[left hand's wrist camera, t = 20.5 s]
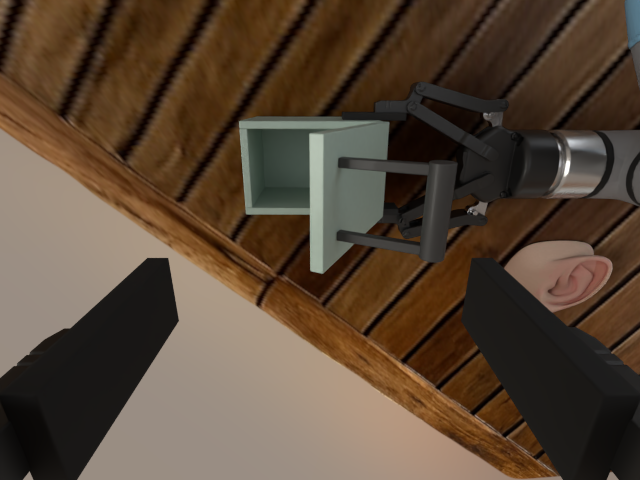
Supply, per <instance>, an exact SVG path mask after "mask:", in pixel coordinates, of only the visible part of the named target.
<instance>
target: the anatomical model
mask: <svg viewBox="0 0 640 480" xmlns="http://www.w3.org/2000/svg"><path fill="white" fill-rule="evenodd" d="M504 269H505V270H506V271H507V272H508V273H509V274H510V275H512V276H513V277H514V278H515V279H516V280H517V281H518V282H519V283H520V284H521V285H522V286H524V287H525V288H526V289H527V290H528V291H529V292H530V293H531V294H532V295H533V296H535V297H536V298H537V299H538V300H539V301H540V302H541V303H542V304H543V305H544V306H545V307H547V308H548V309H549V310H550V311H551V312H552V313H553V312H556V311H559V310H562V309H565V308H568V307H571V306H574V305H577V304H579V303H581V302H583V301H585V300H587V299H589V298H590V297H592V296H593V295H594V294H595V293H597V292H598V291H599V290H600V289H601V288H602V287H603V286H604V285H605V283H606V282H607V280H608V279H609V277H610V275H611V272H612V262H611V261H610V260H609V259H608V258H606V257H603V256H598V255H594V252H593V249H592V247H591V246H590V245H589V244H587V243H584V242H578V241H546V242H538V243H534V244H531V245H528V246H526V247H524V248H523V249H521V250H520V251H519V252H517V253H516V254H515V255H514V256H513V257H512V258H511V260H510V261H509V262H508V263H507V265H506V266H505V268H504Z"/></svg>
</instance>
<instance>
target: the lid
mask: <svg viewBox="0 0 640 480" xmlns="http://www.w3.org/2000/svg"><path fill="white" fill-rule="evenodd" d="M388 135H389V122H374V123H368V124H362V125H356V126H350V127H344V128H338V129H332V130H326V131H320V132H314V133H310V134H309V149H310V270H311V271H313V272H317V273H322V274H323V273H324V272H325V271H326V270H327V269H328V268H329V267H330V266H332V265H333V264H334V263H335V262H336V261H337V260H338V259H339V258H340V257H341V256H342V255H343V254H344V253H345V252H346V251H347V250H348V249H349V248H350V247H351V246H353V245H354V244H360V245H365V246H371V247H377V248H382V249H388V250H394V251H399V252H405V253H411V254H417V255H419V258H420V259H422V260H424V261H427V262H441V261H443V260H444V256H445V249H446V242H447V235H448V228H449V221H450V214H451V207H452V200H453V193H454V186H455V179H456V172H457V164H458V163H457V162H454V161H448V160H432V161H430V162H429V163H425V162H411V161H397V160H387V149H388ZM386 172H392V173H404V174H416V175H427V176H428V177H427V186H426V195H425V203H424V212H423V221H422V230H421V239H420V242H415V241H408V240H402V239H396V238H390V237H383V236H377V235H371V234H365V233H366V232H367V231H368V230H369V229H370V228H371V227H373V226H374V225H375V224H376V223H377V222H378V221H379V220H380V219H381V218H382V217H383V206H384V192H385V178H386Z"/></svg>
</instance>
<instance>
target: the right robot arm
mask: <svg viewBox="0 0 640 480" xmlns="http://www.w3.org/2000/svg"><path fill="white" fill-rule="evenodd" d="M625 14H626V23H627V33H628V48H629V49H631V53H632V58H633V62H634V66H635V71H636V75H637V80H638V84H639V89H640V0H625ZM422 98H426V99H430V100H433V101H437V102H440V103H443V104H447V105H450V106H453V107H457V108H460V109H464V110H467V111H471V112H479V113H480V118H481V119H482V120H486V121H487V122H488V123H489V126H488V127H486V128H485V129H483V130H482V131H480V132H479V133H477V134H476V135H474V136H472V135H471V134H469V133H467V132H465V131H463V130H462V129H460V128H458V127H457V126H455V125H453V124H452V123H450V122H449V121H447V120H445V119H444V118H442V117H441V116H439V115H437V114H436V113H434V112H432V111H431V110H429V109H428V108H426V107H424V106H423V105H421V104H420V102H421V100H422ZM508 106H509V103H508V101H507V100H505V99H492V100H482V99H479V98H476V97H472V96H469V95H466V94H462V93H459V92H456V91H452V90H449V89H446V88H442V87H439V86H436V85H432V84H429V83H426V82H417V83H414V84H412V85H411V87H410V92H409V94H408V96H407V98H406V99H405V100H402V101H377V102H375V103H374V112H342V119H343V120H388V121H406V115H407V113H408V114H409V115H411V116H412V117H414V118H416V119H417V120H419V121H421V122H422V123H424V124H426V125H427V126H429V127H430V128H432V129H434V130H435V131H437V132H439V133H440V134H442V135H444V136H445V137H447V138H449V139H450V140H451V141H453V142H454V143H456V144H458V145H459V146H460V148H459V150H458V149H457V154H456V159H457V163H458V164H457V172H456V179H455V186H454V193H453V200H455V199H460V198H463V197H465V196H467V195H469V194H471V195H472V196H473V197H474V198H476V199H477V200H476V202H475V203H474V204H471V205H467V206H466V207H465V209H457V210H452V211H451V214H450V221H449V228H448V229H451V228H455V227H459V226H463V225H478V226H483V225H485V224H486V223H487V221H488V219H487V217H486V216H484V215H485V211H486V208H487V204H488V202H491V201H493V200H495V199H499V198H518V199H533V198H538V197H540V198H544V199H557V198H604V199H617V200H622V201H625V202H628V203H631V204H634V205H637V206H640V130H612V131H596V130H550V131H546V130H508V129H506V128H505V127H503V126H502V118H503V111H505V110H507V108H508ZM453 200H452V201H453ZM424 203H425V195H424V196H422V197H420V198H418V199H416V200H414V201H412V202H410V203H408V204H406V205H404V206H402V207H400V208H397V206H396V205H395V203H384V206H383V217H382V218H381V219H380V220H379V221H378V222H377V223H396V224H397V225H398V229H399V231H400V233H401V234H402V236H403V237H404V238H405V239H409V238H413V237H417V236H421V230H422V221H423V218H420V219H416V218H418V217H420V216H422V215H423V212H424ZM414 219H416V220H414Z"/></svg>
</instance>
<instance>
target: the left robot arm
mask: <svg viewBox="0 0 640 480" xmlns="http://www.w3.org/2000/svg"><path fill="white" fill-rule="evenodd" d="M178 321H179V319H178V313H177V308H176V302H175V296H174V290H173V284H172V278H171V272H170V266H169V260H168V258H147V259H146V260H145V261H144V262H143V263H142V264H141V265H139V266H138V267H137V268H136V269H135V270H134V271H133V272H132V273H131V274H130V275H128V276H127V277H126V278H125V279H124V280H123V281H122V282H121V283H120V284H119V285H118V286H116V287H115V288H114V289H113V290H112V291H111V292H110V293H109V294H108V295H107V296H106V297H104V298H103V299H102V300H101V301H100V302H99V303H98V304H97V305H96V306H95V307H93V308H92V309H91V310H90V311H89V312H88V313H87V314H86V315H85V316H84V317H82V318H81V319H80V320H79V321H78V322H77V323H76V324H75V325H74V326H73V327H72V328H70V329H63V330H61V331H59V332H57V333H56V334H54V335H52V336H50V337H48V338H47V339H45V340H44V341H42V342H41V343H40V344H39V345H38V346H37V347H36V348H34V349H33V350H32V351H31V352H30V354H29V355H26V356H25V357H24V358H23V359H22V360H21V361H19V362H18V363H17V366H14V367H13V368H11V369H10V370H9V371H8V372H7V373H6V374H4V375H3V376H2V377H1V378H0V480H23V479H24V477H25V476H26V475H27V474H28V472H29V471H30V473H31V475H32V477H33V480H77V479H78V477H79V476H80V474H81V473H82V471H83V469H84V468H85V466H86V465H87V463H88V462H89V460H90V459H91V457H92V456H93V454H94V452H95V451H96V449H97V448H98V446H99V445H100V443H101V441H102V440H103V438H104V437H105V435H106V434H107V432H108V431H109V429H110V427H111V426H112V424H113V423H114V421H115V419H116V418H117V416H118V415H119V413H120V412H121V410H122V409H123V407H124V406H125V404H126V402H127V401H128V399H129V398H130V396H131V395H132V393H133V391H134V390H135V388H136V387H137V385H138V384H139V382H140V381H141V379H142V377H143V376H144V374H145V373H146V371H147V370H148V368H149V367H150V365H151V363H152V362H153V360H154V359H155V357H156V356H157V354H158V352H159V351H160V349H161V348H162V346H163V345H164V343H165V341H166V340H167V338H168V337H169V335H170V334H171V332H172V331H173V329H174V328H175V326H176V324H177V323H178ZM461 321H462V323H463V324H464V326H465V328H466V329H467V331H468V332H469V334H470V335H471V337H472V339H473V340H474V342H475V343H476V345H477V346H478V348H479V349H480V351H481V353H482V354H483V356H484V357H485V359H486V360H487V362H488V363H489V365H490V367H491V368H492V370H493V371H494V373H495V374H496V376H497V378H498V379H499V381H500V382H501V384H502V385H503V387H504V388H505V390H506V392H507V393H508V395H509V396H510V398H511V399H512V401H513V402H514V404H515V406H516V407H517V409H518V410H519V412H520V413H521V415H522V417H523V418H524V420H525V421H526V423H527V424H528V426H529V427H530V429H531V431H532V432H533V434H534V435H535V437H536V438H537V440H538V441H539V443H540V445H541V446H542V448H543V449H544V451H545V452H546V454H547V456H548V457H549V459H550V460H551V462H552V463H553V465H554V466H555V468H556V470H557V471H558V473H559V474H560V476H561V477H562V479H563V480H607V477H608V475H609V473H610V470H612V472H613V473H614V474H615V475H616V477H617V478H618V479H619V480H640V376H639V375H638V374H637V373H635V372H634V371H633V370H632V369H631V368H630V367H628V366H627V365H624V364H623V361H621V360H620V359H619V358H618V357H617V356H616V355H615V354H611V351H610V350H609V349H608V348H606V347H605V346H604V345H603V344H602V343H601V342H599V341H598V340H597V339H596V338H594V337H592V336H591V335H589V334H587V333H585V332H583V331H582V330H580V329H578V328H576V327H567V326H566V325H565V324H564V323H563V322H562V321H561V320H560V319H559V318H558V317H556V316H555V315H554V314H553V313H552V312H551V311H550V310H549V309H548V308H547V307H545V306H544V305H543V304H542V303H541V302H540V301H539V300H538V299H537V298H536V297H535V296H533V295H532V294H531V293H530V292H529V291H528V290H527V289H526V288H525V287H524V286H522V285H521V284H520V283H519V282H518V281H517V280H516V279H515V278H514V277H513V276H512V275H510V274H509V273H508V272H507V271H506V270H505V269H504V268H503V267H502V266H501V265H499V264H498V263H497V262H496V261H495V260H494V259H493V258H472V260H471V266H470V272H469V278H468V284H467V290H466V296H465V302H464V307H463V313H462V319H461Z"/></svg>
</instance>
